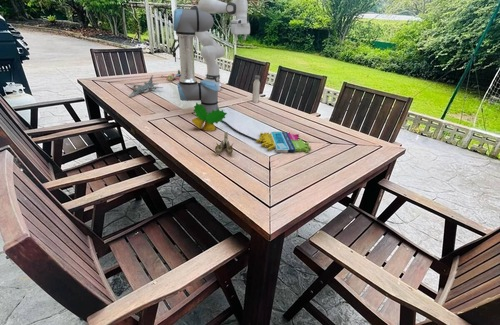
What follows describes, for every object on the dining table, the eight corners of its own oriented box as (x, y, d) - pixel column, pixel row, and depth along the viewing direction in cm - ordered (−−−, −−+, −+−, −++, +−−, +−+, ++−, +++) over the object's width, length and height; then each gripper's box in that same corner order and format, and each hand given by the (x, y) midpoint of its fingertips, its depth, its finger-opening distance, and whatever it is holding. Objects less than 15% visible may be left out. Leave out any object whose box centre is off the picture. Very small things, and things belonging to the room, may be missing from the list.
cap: (256, 78, 217) (256, 75, 216) (260, 79, 215) (261, 76, 214) (253, 78, 214) (253, 75, 213) (257, 79, 212) (257, 76, 210)
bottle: (254, 100, 227) (256, 75, 217) (259, 101, 224) (261, 76, 214) (250, 101, 223) (252, 76, 213) (255, 102, 220) (257, 77, 210)
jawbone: (234, 135, 144) (233, 125, 135) (233, 160, 138) (232, 151, 129) (217, 135, 144) (216, 125, 135) (216, 160, 138) (214, 150, 129)
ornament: (218, 133, 171) (224, 110, 169) (221, 134, 163) (227, 111, 161) (186, 125, 162) (192, 101, 160) (189, 126, 155) (195, 101, 153)
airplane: (123, 87, 237) (120, 75, 231) (158, 84, 250) (157, 74, 245) (127, 99, 208) (125, 87, 203) (167, 96, 221) (166, 84, 216)
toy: (193, 71, 287) (180, 75, 262) (193, 77, 291) (181, 82, 265) (170, 68, 292) (155, 72, 266) (170, 75, 296) (156, 79, 270)
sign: (313, 150, 142) (258, 149, 139) (312, 153, 143) (258, 152, 140) (301, 132, 164) (254, 130, 161) (301, 134, 165) (254, 133, 162)
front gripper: (198, 33, 207) (199, 61, 218) (165, 31, 201) (168, 60, 211) (199, 33, 201) (200, 62, 211) (165, 32, 194) (168, 62, 205)
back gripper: (246, 21, 214) (245, 39, 221) (229, 20, 199) (229, 40, 206) (252, 21, 211) (251, 40, 217) (236, 21, 196) (235, 41, 203)
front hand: (184, 61), depth 211 cm, fingers open, 13 cm apart
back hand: (240, 40), depth 212 cm, fingers open, 8 cm apart
